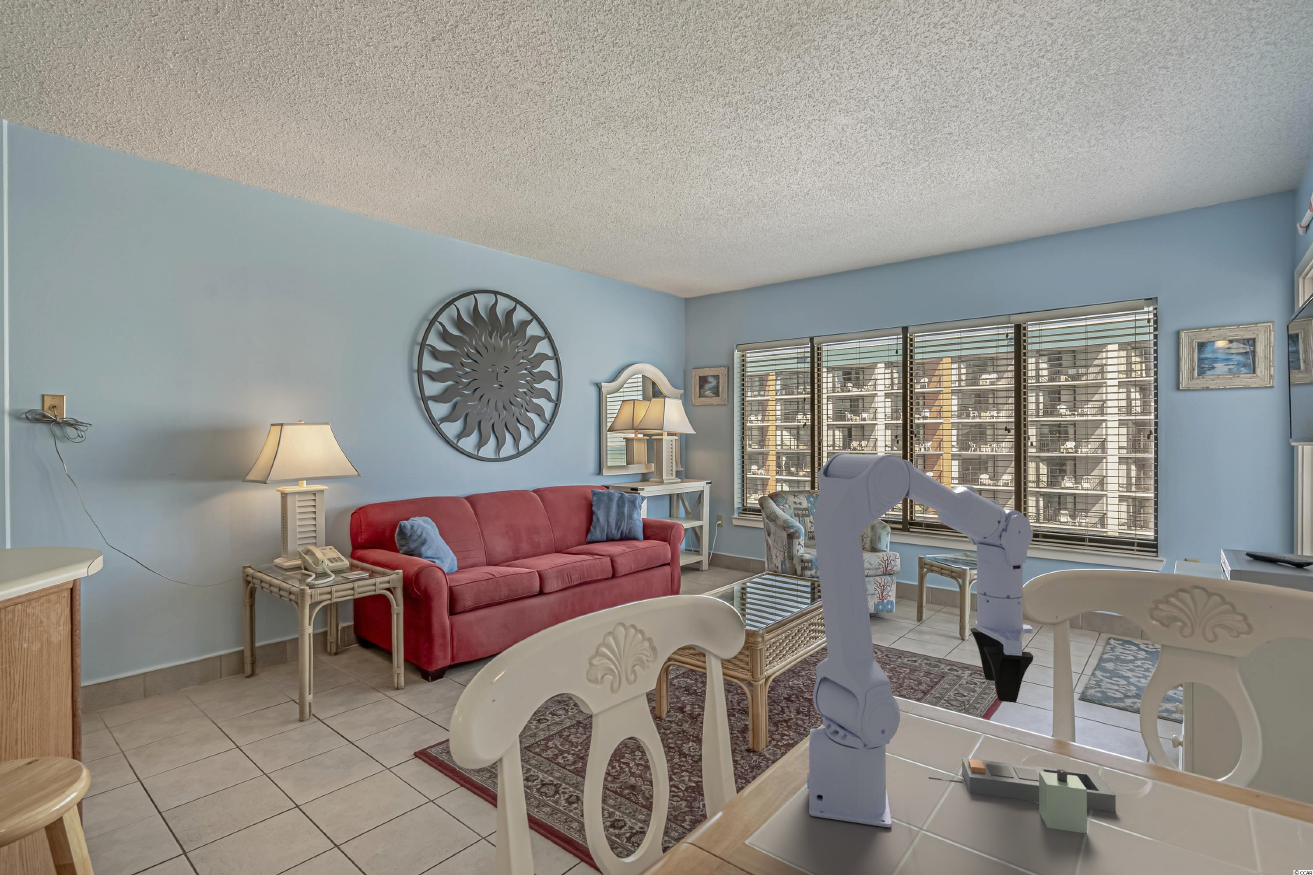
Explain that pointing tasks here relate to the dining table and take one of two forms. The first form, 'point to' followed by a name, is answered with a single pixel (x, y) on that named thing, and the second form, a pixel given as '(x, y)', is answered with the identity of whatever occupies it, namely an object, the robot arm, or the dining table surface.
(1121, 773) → the dining table surface
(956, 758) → the dining table surface
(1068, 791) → the charger
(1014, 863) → the dining table surface
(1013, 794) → the power strip
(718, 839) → the dining table surface
